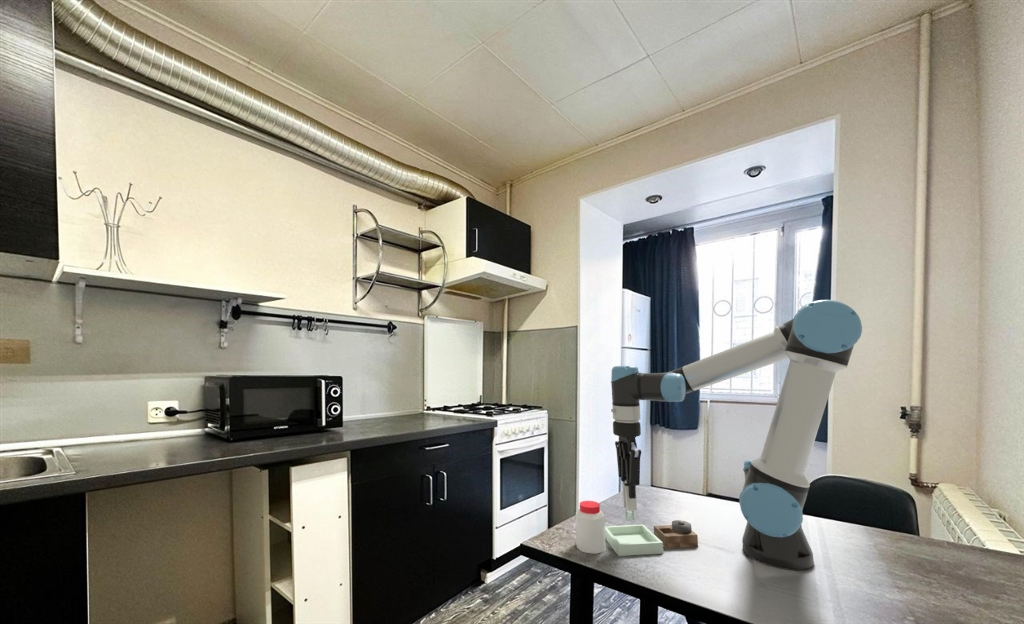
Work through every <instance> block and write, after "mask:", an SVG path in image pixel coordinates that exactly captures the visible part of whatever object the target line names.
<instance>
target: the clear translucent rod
mask: <svg viewBox="0 0 1024 624" xmlns="http://www.w3.org/2000/svg"><path fill="white" fill-rule="evenodd" d="M625 483H627V481H626V480H625ZM625 505H626V493H625ZM625 519H626V520H627V521H634V520H635V510H631V511H627V510H626V509H625Z"/></svg>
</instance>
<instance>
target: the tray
mask: <svg viewBox="0 0 1024 624" xmlns="http://www.w3.org/2000/svg"><path fill="white" fill-rule="evenodd" d="M605 541H606V542H607V543H608V544H609V545H610V547H611V548H612V549H613V551H614V552H615V554H616V555H617V556H618V557H624V556H640V555H657V554H658V555H659V554H664V546H663V542H662V541H661V540H660V539H658V538H657V537H656V536H655V535H654V532H652V531H651V530H650V529H649V528H648V527H647V526H645V524H643V523H642V524H625V525H608V526H607V525H605Z"/></svg>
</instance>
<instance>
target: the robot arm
mask: <svg viewBox="0 0 1024 624" xmlns="http://www.w3.org/2000/svg"><path fill="white" fill-rule="evenodd" d="M860 318H861V317H860V316H859V314H858V313H857V312H856V311H855V309H854V308H852V307H850V306H849V305H847V304H846V303H843V302H841V301H838V300H833V299H820V300H814V301H811V302H808V303H806V304H805V305H803V306H802V307H801V308H800V309H799V310H797V312H796V314H795V315H794V317H793V318H792V319H790V320H788V321H786V322H784V323H782V324H778V325H776V326H775V328H774V329H773V331H771V332H769V333H767V334H764V335H761V336H758V337H756V338H754V339H752V340H751V339H750V340H748V341H746V342H744V343H740V344H738V345H736V346H733V347H730V348H728V349H725V350H722V351H720V352H718V353H714V354H713V355H709V356H707V357H704V358H702V359H699V360H696V361H694V362H692V363H689V364H685V365H684V366H681V367H679V368H676V369H673V370H671V371H668V372H667V371H666V372H660V373H659V372H652V373H649V372H648V373H647V372H639V368H638V366H636V365H615V366H612V368H611V376H610V377H611V378H610V379H611V381H610V385H611V398H612V399H611V400H612V402H611V404H612V406H611V407H612V408H611V410H610V411H611V413H612V419H613V420H614V421H613V422H612V432H613V436H617V437H618V440H617V441H614V445H615V450H616V461H617V471H618V478H620V480H621V485H622V486H621V487H622V488H621V489H622V490H621V491H622V507H623V508H625V511H626V510H627V511H631V510H634V511H637V510H638V507H637V505H638V504H637V486H640V482H641V480H640V479H641V478H640V476H641V456H642V450H641V449H638V446H637V441H636V439H637V437H640V436H641V434H642V433H641V432H642V430H641V429H642V427H641V422H640V420H641V405H640V401H651V402H652V401H653V402H654V401H655V402H668V403H674V402H677V403H679V402H683V401H684V400H685V397H686V394H690V393H693V392H695V391H698V390H700V389H704V388H706V387H709V386H711V385H714V384H717V383H720V382H724V381H726V380H729V379H733V378H735V377H738V376H741V375H744V374H747V373H749V372H753V371H755V370H758V369H760V368H761V369H762V368H764V367H767V366H770V365H774V364H775V363H776V364H777V363H778V362H779V363H780V362H781V361H785V360H787V359H789V363H788V366H787V370H786V373H785V376H784V379H783V383H782V386H781V389H780V393H779V396H778V399H777V402H776V404H775V405H776V406H775V408H774V409H775V410H774V413H773V416H772V418H771V422H770V425H769V430H768V432H767V435H766V438H765V442H764V445H763V448H762V452H761V454H760V457H758V458H755V459H746V460H745V461H744V462H743V469H742V472H744V484H743V486H742V490H741V492H740V494H739V498H738V503H739V507H740V512H741V513H742V515H743V518H744V520H746V526H745V528H744V531H743V536H742V540H741V543H742V544H741V545H742V550H743V552H744V553H745V554H746V555H747V556H748V557H750V558H751V559H753V560H755V561H757V562H759V563H761V564H765V565H768V566H771V567H774V568H779V569H783V570H784V569H785V570H796V571H800V570H806V569H807V570H808V569H811V568H812V567H813V566H814V564H815V561H814V553H813V550H812V548H811V546H810V544H809V543H810V542H809V541H808V539H807V537H806V534H805V532H804V529H803V527H802V524H803V522H804V521H803V520H804V513H803V509H804V507H805V503H806V500H807V496H808V493H809V489H810V486H811V484H810V483H809V481H808V479H807V478H806V476H805V473H806V469H807V466H808V463H809V461H810V460H809V459H810V456H811V454H812V450H813V447H814V444H815V441H816V437H817V434H818V430H819V428H820V425H821V422H822V419H823V415H824V413H825V409H826V405H827V402H828V399H829V396H830V393H831V389H832V387H833V382H834V380H835V376H836V373H838V372H839V371H842V370H844V369H847V368H848V365H849V362H850V358H851V356H852V353H853V350H854V347H855V344H857V343H858V341H859V340H860V338H861V336H862V332H863V325H862V319H860ZM625 480H626V481H627V483H625ZM625 493H626V505H625Z"/></svg>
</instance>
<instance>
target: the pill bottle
mask: <svg viewBox="0 0 1024 624" xmlns="http://www.w3.org/2000/svg"><path fill="white" fill-rule="evenodd" d="M605 522H606V519H605V514H604V512H603V511H602V510H601V504H600V503H599V502H597V501H595V500H581V501H580V502H579V508H578V510H577V511H576V512H575V531H576V532H575V533H576V535H575V536H576V537H575V539H576V543H575V544H576V548H577V550H579V551H581V552H583V553H586V554H601V553H603V552H604V551H606V549H607V546H606V545H607V544H606V543H607V540H606V539H605V526H606V523H605Z"/></svg>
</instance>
